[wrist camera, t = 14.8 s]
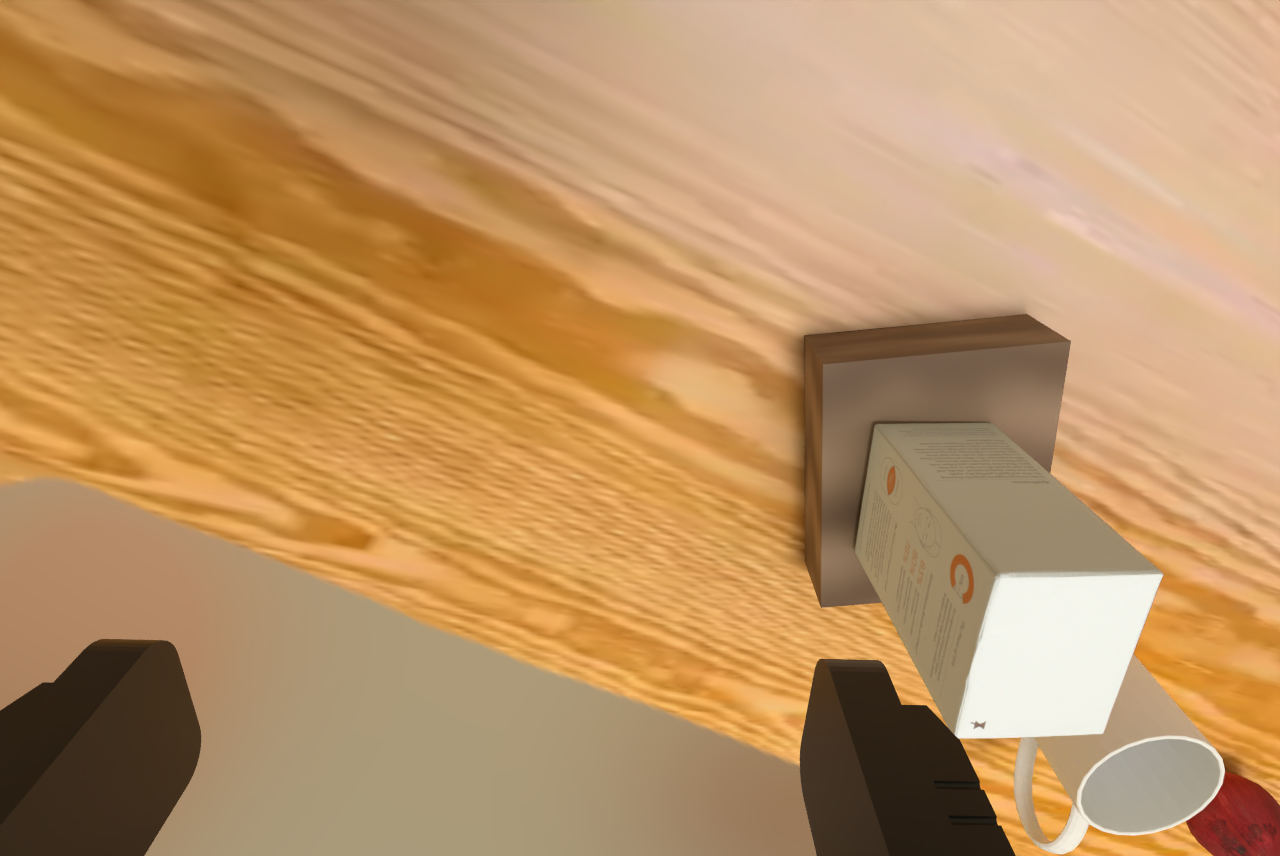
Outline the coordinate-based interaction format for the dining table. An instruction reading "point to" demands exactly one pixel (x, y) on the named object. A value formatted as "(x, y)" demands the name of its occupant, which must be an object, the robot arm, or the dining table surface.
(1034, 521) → the small box
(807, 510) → the walnut block
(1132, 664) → the mug
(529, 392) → the dining table surface
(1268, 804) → the onion
